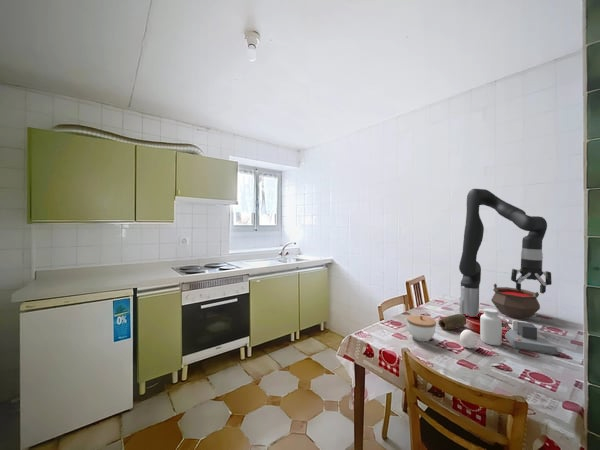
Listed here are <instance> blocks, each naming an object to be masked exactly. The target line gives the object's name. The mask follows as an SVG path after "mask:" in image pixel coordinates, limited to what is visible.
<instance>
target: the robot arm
mask: <svg viewBox="0 0 600 450" xmlns="http://www.w3.org/2000/svg"><path fill="white" fill-rule="evenodd" d="M480 206H486V207H489V208H491V209H493V210H495V211H496V212H497V214H498V215H500V216H501V217H502V218H504V219H506V220H508V221H510V222H512V223H513V224H514V225H516V227H517V228H519V229H520V230H523V231H526V232H528V235H526V236H523V237H522V241H521V242H522V244H521V253H520V268H519V269H516V268H512V269H511V274H510V275H511V276H510V280H511V281H512V282H514V283H515V288H516V289H517V290H518V291H521V289H522V282H524V281H525V280H533V281H536V280H537V282H539V284H540V285H539V292H540V293H539V294H545V293H546V291H547V289H546V288H547V286H551V285H552V272H551V271H548V270H546V271H543V258H544V257H543V240H544V237H545V235H546V232H547V229H548V223H547V220H546V218H544V217H543V216H538V215H537V216H533V215H528V214H527V212H526V211H524V210H523V209H521V208H519V207H518V206H515V205H513V204H511V203H509V202H507V201H505V200H503V199H501V198H500V197H498V196H497V195H495V193H493V192H491V191H490V190H488V189H485V188H482V189H481V188H472V189H470V190H469V191H468V192H467V195H466V216H465V225H464V234H463V243H462V253H461V257H460V262H459V266H458V270H459V272H460V273H461V274H462V279H461V280H460V297H459V314H462V315H463V314H466V315H469V316H477V315H478V314H479V315H480V285H481V277H482V276H481V275H482V268H481V267H482V266H481V264H480V263H479V262H478V260H477V257H478V252H479V249H480V248H481V245H482V243H483V239H484V234H485V233H484V232H485V230H484V229H485V227H484V223H483V222H482V219H481V216H480ZM519 273H520V275H519V276H518V278H517V275H518V274H519ZM542 276H545V277H544V278H545V281H544V279H543V278H542Z"/></svg>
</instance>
